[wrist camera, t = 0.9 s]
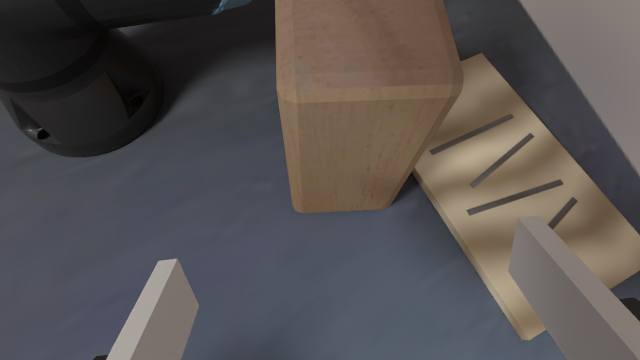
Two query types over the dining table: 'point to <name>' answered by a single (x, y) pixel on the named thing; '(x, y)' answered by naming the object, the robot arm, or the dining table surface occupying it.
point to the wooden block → (360, 96)
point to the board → (516, 191)
